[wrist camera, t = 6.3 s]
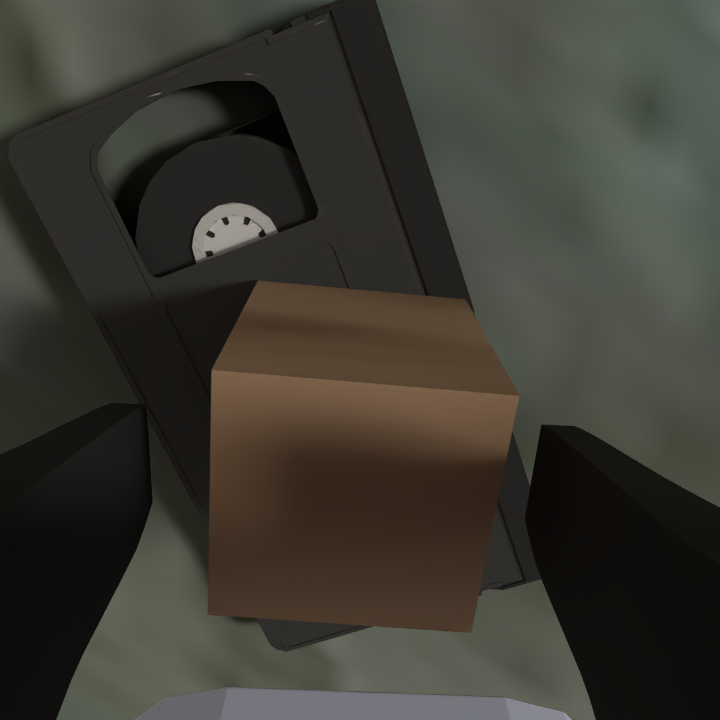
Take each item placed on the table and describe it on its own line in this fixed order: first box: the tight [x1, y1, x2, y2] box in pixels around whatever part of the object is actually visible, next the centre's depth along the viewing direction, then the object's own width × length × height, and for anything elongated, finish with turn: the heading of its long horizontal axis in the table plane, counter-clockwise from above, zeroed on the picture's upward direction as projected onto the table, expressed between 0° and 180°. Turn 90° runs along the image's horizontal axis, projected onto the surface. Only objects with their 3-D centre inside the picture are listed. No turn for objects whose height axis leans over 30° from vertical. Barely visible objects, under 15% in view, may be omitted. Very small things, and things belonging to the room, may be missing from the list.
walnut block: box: [208, 280, 519, 633], centre depth 13 cm, size 4×4×5 cm
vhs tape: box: [8, 0, 541, 652], centre depth 16 cm, size 14×8×2 cm, turn 20°
